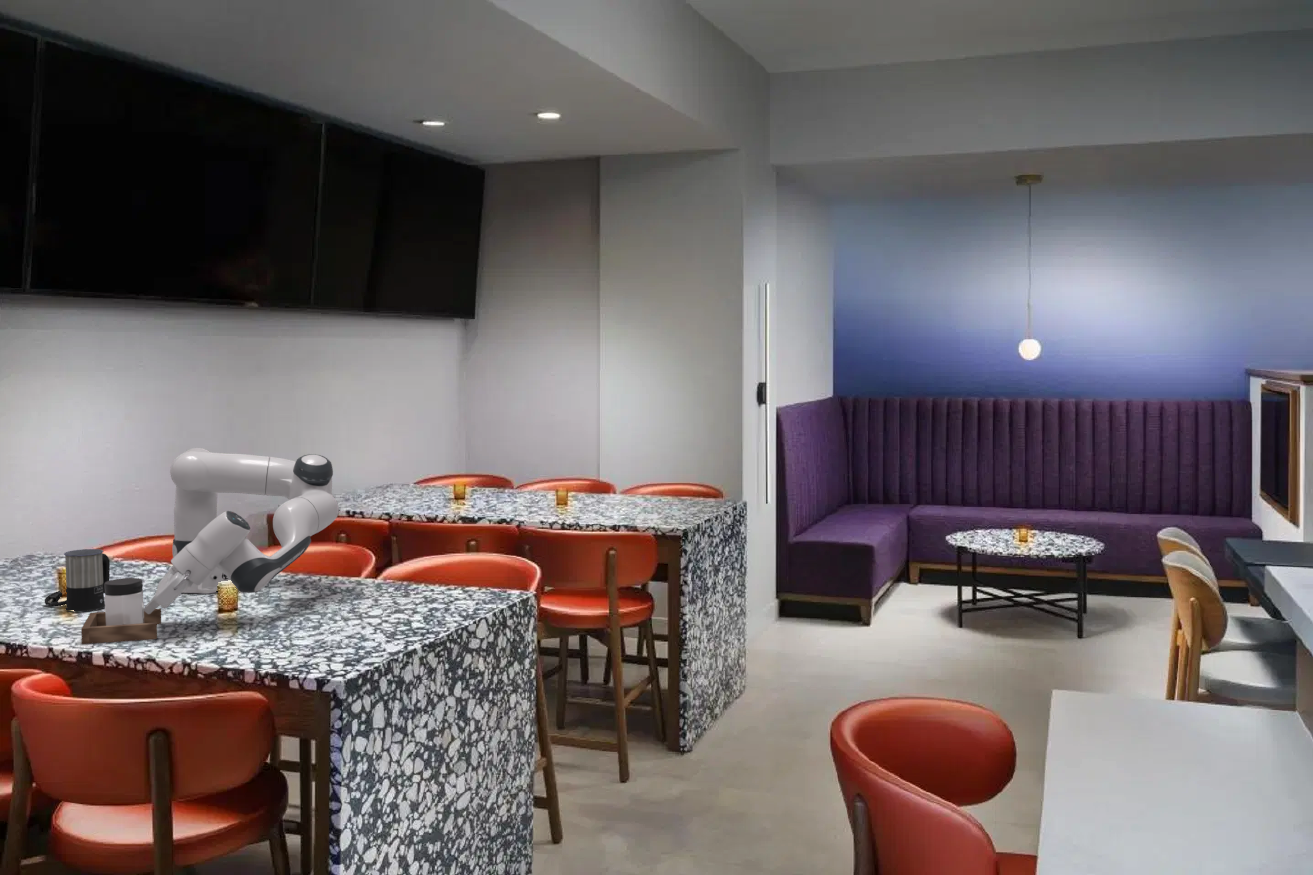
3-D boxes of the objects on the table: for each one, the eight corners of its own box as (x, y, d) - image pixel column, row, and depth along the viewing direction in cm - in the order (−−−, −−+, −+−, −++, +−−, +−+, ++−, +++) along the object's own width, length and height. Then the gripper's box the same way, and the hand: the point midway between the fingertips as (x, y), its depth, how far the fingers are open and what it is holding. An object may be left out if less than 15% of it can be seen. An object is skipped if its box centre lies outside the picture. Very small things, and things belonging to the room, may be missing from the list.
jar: (143, 634, 266) (141, 583, 265) (104, 637, 263) (102, 586, 262) (146, 625, 274) (143, 576, 273) (108, 628, 271) (106, 579, 271)
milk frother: (99, 612, 289) (98, 554, 288) (31, 614, 286) (30, 555, 285) (114, 600, 303) (113, 545, 302) (50, 602, 300) (48, 546, 299)
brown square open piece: (161, 622, 278) (160, 608, 278) (156, 638, 262) (156, 623, 262) (90, 627, 273) (90, 612, 273) (81, 644, 257) (81, 628, 257)
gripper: (199, 584, 263) (154, 629, 260) (201, 569, 282) (159, 610, 279) (178, 566, 261) (132, 611, 258) (181, 552, 280) (139, 594, 277)
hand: (146, 611), depth 269 cm, fingers closed
